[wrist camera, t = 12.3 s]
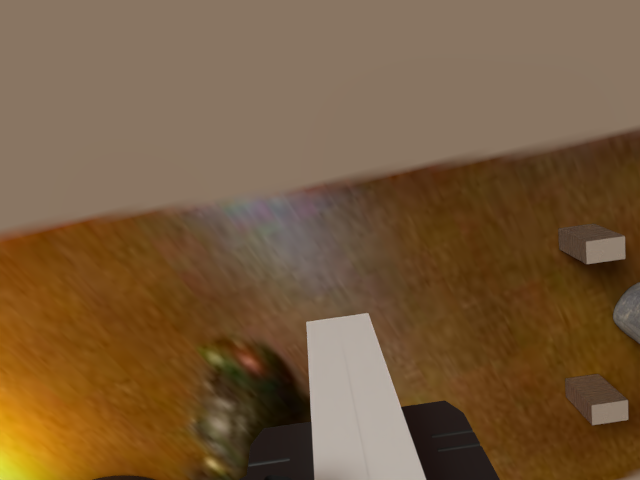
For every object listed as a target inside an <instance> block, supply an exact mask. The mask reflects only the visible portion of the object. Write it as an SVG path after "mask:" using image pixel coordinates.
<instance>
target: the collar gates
mask: <svg viewBox="0 0 640 480" xmlns="http://www.w3.org/2000/svg"><path fill="white" fill-rule="evenodd" d="M559 249H560V250H561V251H563V252H565V253H567V254H569V255H571V256H572V257H574V258H576V259H578V260H580V261H582V262H583V263H585V264H593V263H600V262H607V261H613V260H620V259H625V236H623V235H621V234H618V233H616V232H613V231H611V230H608V229H606V228H603V227H601V226H598V225H596V224H588V225H581V226H574V227H567V228H560V229H559ZM565 385H566V397H567V398H568V400H569V401H570V402H571V403H572V404H573V405H574V406H575V407H576V408H577V409H578V410H579V411H580V413H581V414H582V415H583V416H584V417H585V418H586V419H587V420H588V421H589V422H590V423H591V424H592V425H597V424H604V423H611V422H618V421H624V420H628V400H627V399H626V398H625V397H624V396H623V395H622V394H621V393H619V392H618V391H617V390H616V389H615V388H614V387H613V386H611V385H610V384H609V383H608V382H607V381H606V380H605V379H604V378H602V377H601V376H600V375H599V374H594V375H587V376H580V377H573V378H567V379H565Z"/></svg>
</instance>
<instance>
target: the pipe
mask: <svg viewBox="0 0 640 480" xmlns="http://www.w3.org/2000/svg"><path fill="white" fill-rule="evenodd" d="M613 319H614V322H615V323H616V325H617V326H618V327H619V328H620V329H621V330H622V331H623V332H625V333H626V334H627V335H628V336H629V337H631V338H632V339H634V340H635V341H637V342H638V343H639V344H640V282H639V283H637V284H635V285H633V286H632V287H630V288H629V289H628V290H627V291H626V292H625V293H624V294H623V295H622V297H621V298H620V300H619V301H618V303H617V304H616V307H615V309H614V313H613Z"/></svg>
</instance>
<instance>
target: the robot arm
mask: <svg viewBox="0 0 640 480" xmlns="http://www.w3.org/2000/svg"><path fill="white" fill-rule="evenodd" d="M306 323H307V342H308V362H309V382H310V402H311V421H312V422H307V423H300V424H293V425H286V426H279V427H272V428H265V429H263V430H262V431H261V433H260V434H259V435H258V437H257V438H256V439H255V441H254V442H253V443H252V445H251V447H250V455H249V463H248V464H249V467H248V470H247V476H245V477H243V478H241V479H239V480H500V479H499V477H498V476H497V474H496V472H495V470H494V468H493V466H492V465H491V463H490V461H489V459H488V457H487V455H486V454H485V452H484V450H483V448H482V446H480V443H479V441H478V439H477V437H476V435H475V433H474V432H473V431H472V428H471V426H470V424H469V422H468V421H467V419H466V417H465V415H464V413H463V412H461V411H460V410H458V409H457V408H455V407H454V406H452V405H451V404H449V403H448V402H446V401H439V402H432V403H425V404H418V405H411V406H404V407H401V406H400V403H399V400H398V397H397V395H396V392H395V389H394V386H393V383H392V380H391V377H390V375H389V372H388V369H387V366H386V363H385V360H384V357H383V354H382V352H381V349H380V346H379V343H378V340H377V337H376V334H375V331H374V329H373V326H372V323H371V320H370V317H369V314H368V313H366V314H359V315H352V316H345V317H338V318H331V319H324V320H317V321H310V322H306ZM94 480H154V479H150V478H145V477H138V476H110V477H103V478H98V479H94Z"/></svg>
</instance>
